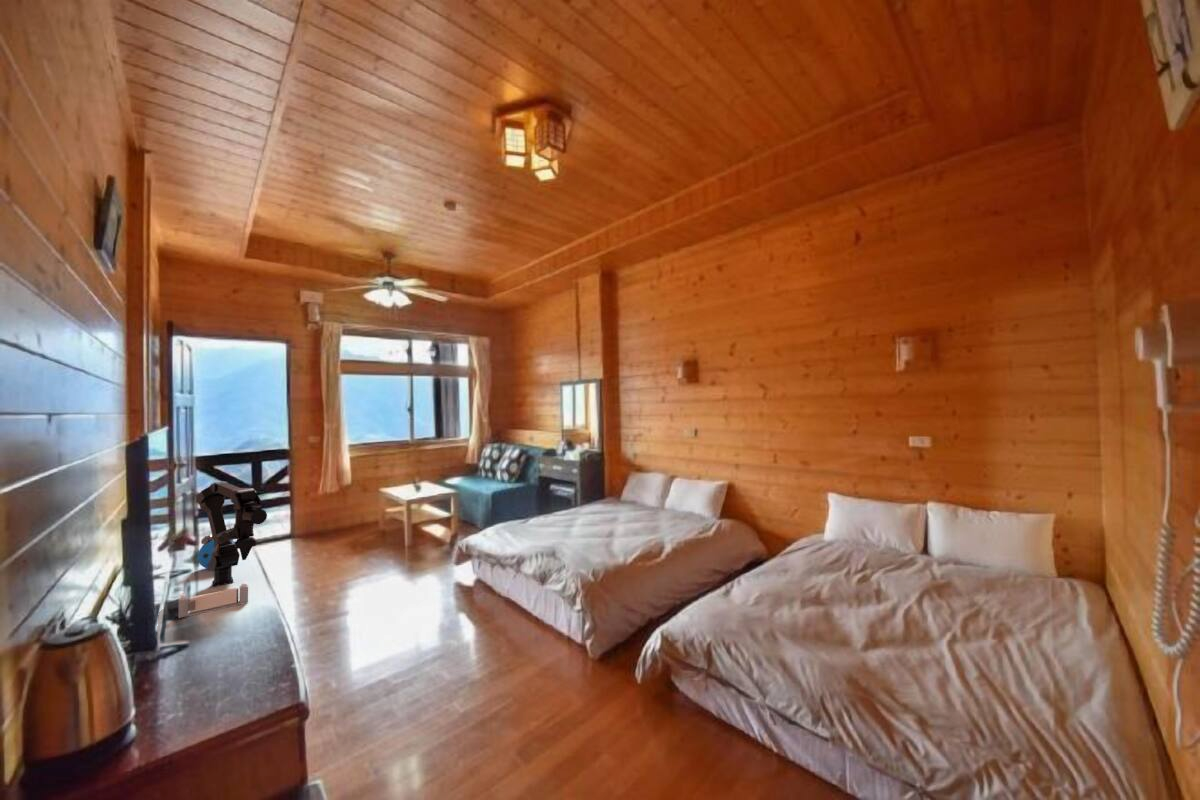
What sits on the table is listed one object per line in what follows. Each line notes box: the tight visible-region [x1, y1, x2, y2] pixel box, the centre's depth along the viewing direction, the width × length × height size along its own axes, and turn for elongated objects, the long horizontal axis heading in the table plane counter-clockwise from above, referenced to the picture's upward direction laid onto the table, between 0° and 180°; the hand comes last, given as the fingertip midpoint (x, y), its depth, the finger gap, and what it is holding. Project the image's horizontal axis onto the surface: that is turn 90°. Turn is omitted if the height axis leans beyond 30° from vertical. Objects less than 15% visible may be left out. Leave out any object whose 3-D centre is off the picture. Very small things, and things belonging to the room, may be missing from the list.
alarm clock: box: [197, 534, 235, 570], centre depth 209 cm, size 13×6×15 cm, turn 122°
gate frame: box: [178, 582, 249, 619], centre depth 170 cm, size 3×19×7 cm, turn 131°
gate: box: [189, 587, 239, 613], centre depth 170 cm, size 2×14×5 cm, turn 132°
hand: (244, 559), depth 187 cm, fingers closed
